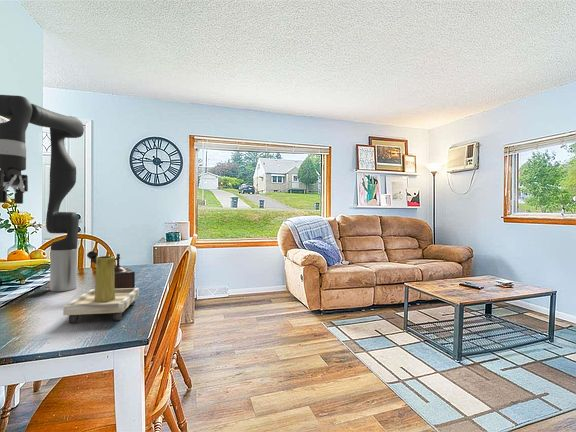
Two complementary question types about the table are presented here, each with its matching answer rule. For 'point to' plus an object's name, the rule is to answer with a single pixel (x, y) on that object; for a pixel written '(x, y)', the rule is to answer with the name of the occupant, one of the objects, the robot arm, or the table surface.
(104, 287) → the vase
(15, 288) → the table surface
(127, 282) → the coffee grinder
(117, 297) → the caster dolly
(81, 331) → the table surface
